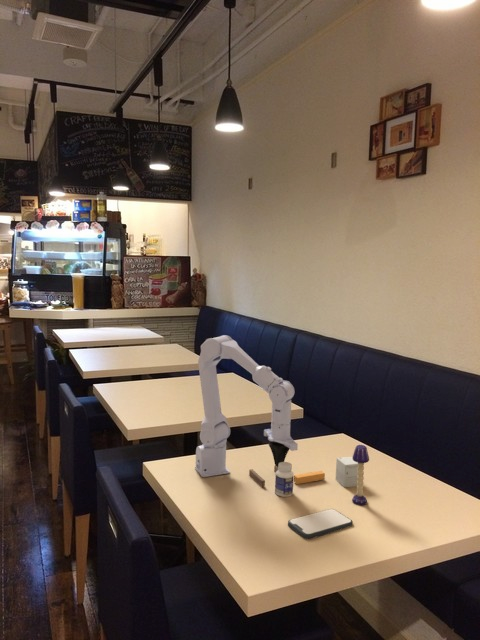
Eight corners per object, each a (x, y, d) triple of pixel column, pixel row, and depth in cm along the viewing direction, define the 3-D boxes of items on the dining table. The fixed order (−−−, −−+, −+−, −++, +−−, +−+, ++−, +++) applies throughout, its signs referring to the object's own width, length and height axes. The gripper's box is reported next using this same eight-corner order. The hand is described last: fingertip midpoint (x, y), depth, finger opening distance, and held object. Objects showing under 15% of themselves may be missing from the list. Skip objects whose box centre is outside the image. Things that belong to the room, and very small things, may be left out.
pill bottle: (286, 498, 149) (288, 469, 148) (271, 493, 152) (272, 464, 151) (295, 492, 153) (297, 463, 152) (280, 487, 156) (281, 459, 155)
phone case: (332, 512, 142) (285, 525, 134) (332, 507, 142) (285, 519, 134) (354, 527, 135) (306, 542, 127) (355, 521, 135) (306, 535, 127)
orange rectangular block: (296, 484, 158) (297, 477, 158) (293, 481, 160) (293, 475, 159) (324, 479, 162) (324, 473, 162) (321, 476, 164) (321, 470, 163)
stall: (261, 487, 156) (261, 481, 155) (249, 475, 164) (249, 469, 164) (290, 482, 160) (290, 476, 159) (276, 471, 168) (277, 465, 168)
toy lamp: (363, 507, 145) (366, 450, 143) (347, 503, 147) (350, 446, 145) (369, 501, 149) (372, 445, 147) (353, 496, 151) (356, 442, 149)
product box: (343, 487, 157) (345, 464, 156) (334, 479, 163) (336, 457, 162) (361, 485, 159) (363, 463, 158) (352, 477, 164) (353, 455, 164)
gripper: (256, 417, 158) (254, 459, 160) (284, 431, 146) (282, 477, 147) (275, 414, 162) (273, 455, 163) (304, 427, 149) (301, 472, 151)
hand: (279, 465), depth 156 cm, fingers closed
